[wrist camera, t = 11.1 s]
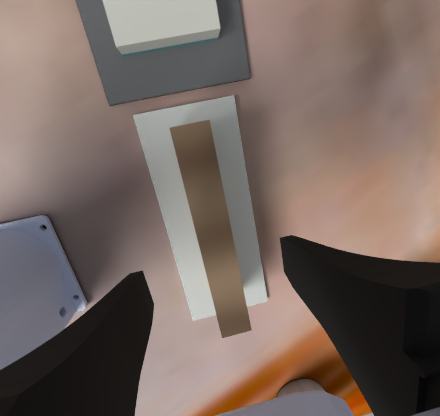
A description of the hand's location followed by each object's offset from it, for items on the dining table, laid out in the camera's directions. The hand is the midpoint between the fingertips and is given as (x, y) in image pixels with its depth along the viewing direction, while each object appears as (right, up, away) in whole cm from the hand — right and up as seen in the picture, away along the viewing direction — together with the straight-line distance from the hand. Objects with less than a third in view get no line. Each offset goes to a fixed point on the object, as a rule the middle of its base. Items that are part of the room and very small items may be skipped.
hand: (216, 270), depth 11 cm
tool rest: (-1, +2, +9) cm, 9 cm away
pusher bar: (-1, +2, +9) cm, 9 cm away
